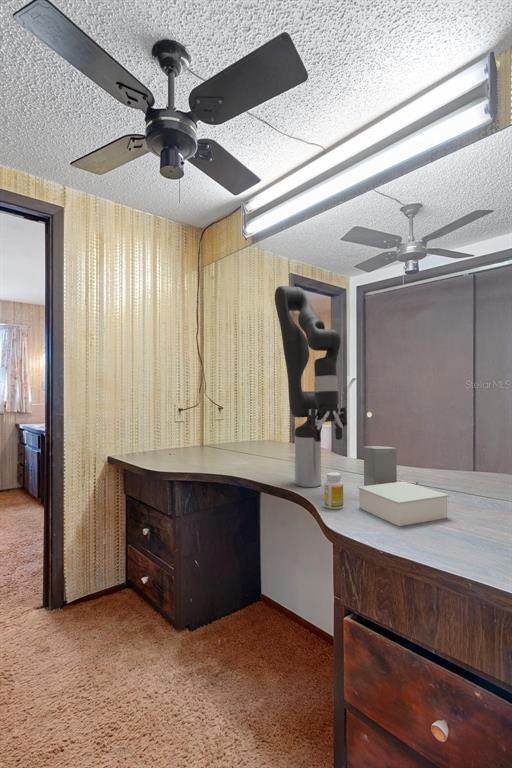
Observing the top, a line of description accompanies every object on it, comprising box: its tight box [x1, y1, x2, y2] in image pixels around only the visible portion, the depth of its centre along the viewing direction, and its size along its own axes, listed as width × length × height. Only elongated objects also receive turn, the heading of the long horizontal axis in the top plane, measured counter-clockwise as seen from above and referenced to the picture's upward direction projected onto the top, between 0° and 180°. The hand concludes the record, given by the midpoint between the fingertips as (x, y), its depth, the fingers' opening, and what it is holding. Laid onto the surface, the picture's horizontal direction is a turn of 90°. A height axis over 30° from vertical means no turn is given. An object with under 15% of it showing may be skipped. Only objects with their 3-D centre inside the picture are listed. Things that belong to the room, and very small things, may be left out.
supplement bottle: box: [323, 471, 344, 510], centre depth 114 cm, size 5×5×10 cm
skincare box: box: [363, 445, 398, 486], centre depth 124 cm, size 8×7×16 cm
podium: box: [357, 481, 450, 527], centre depth 108 cm, size 17×17×6 cm
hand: (328, 440), depth 126 cm, fingers open, 8 cm apart
